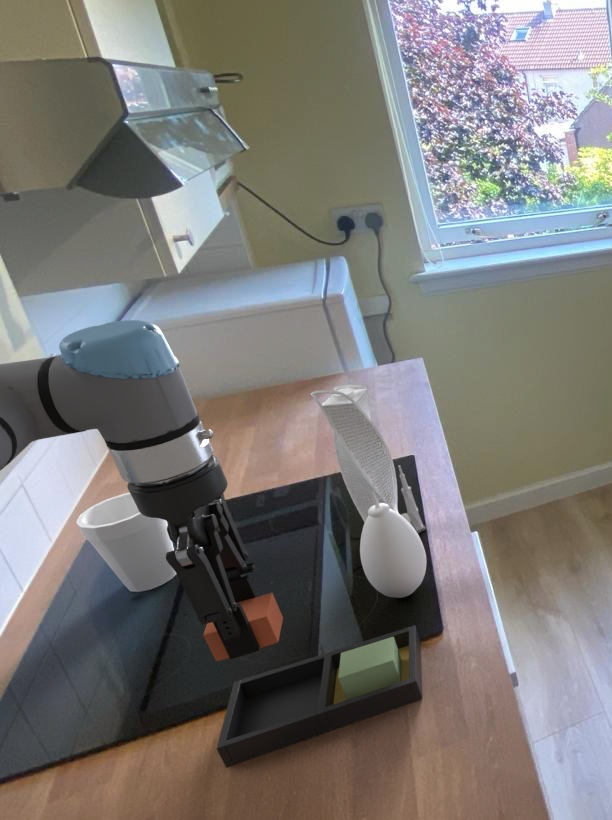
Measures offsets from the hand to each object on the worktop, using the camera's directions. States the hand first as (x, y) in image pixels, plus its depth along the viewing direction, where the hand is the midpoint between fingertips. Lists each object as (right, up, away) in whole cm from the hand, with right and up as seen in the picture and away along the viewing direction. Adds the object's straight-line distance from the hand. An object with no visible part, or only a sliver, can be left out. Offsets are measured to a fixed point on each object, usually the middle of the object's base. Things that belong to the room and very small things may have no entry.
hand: (249, 637), depth 85 cm
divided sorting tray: (+6, -10, +6) cm, 13 cm away
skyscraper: (-4, +4, +37) cm, 38 cm away
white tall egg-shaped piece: (+5, -2, +24) cm, 25 cm away
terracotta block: (0, 0, 0) cm, 0 cm away
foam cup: (-36, -1, +28) cm, 46 cm away
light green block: (+10, -8, +8) cm, 15 cm away
